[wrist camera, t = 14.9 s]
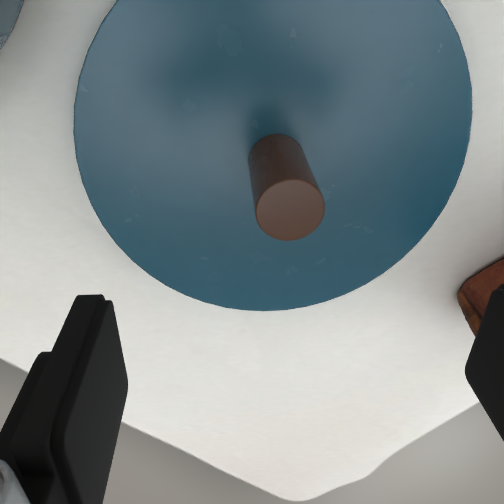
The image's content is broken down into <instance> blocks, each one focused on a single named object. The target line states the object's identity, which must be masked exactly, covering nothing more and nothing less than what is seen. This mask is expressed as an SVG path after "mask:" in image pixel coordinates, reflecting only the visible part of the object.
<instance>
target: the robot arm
mask: <svg viewBox="0 0 504 504" xmlns="http://www.w3.org/2000/svg"><path fill="white" fill-rule="evenodd" d="M465 375H466V379H467V381H468V383H469V384H470V386H471V388H472V389H473V391H474V393H475V394H476V396H477V398H478V399H479V401H480V403H481V404H482V406H483V407H484V409H485V411H486V413H487V414H488V416H489V417H490V419H491V421H492V423H493V424H494V426H495V428H496V429H497V431H498V432H499V434H500V436H501V437H502V439H503V441H504V283H503V284H501V285H500V286H498V288H497V289H495V290H493V291H492V293H491V295H490V298H489V301H488V304H487V306H486V309H485V312H484V315H483V318H482V321H481V323H480V326H479V329H478V332H477V335H476V337H475V340H474V343H473V346H472V349H471V352H470V354H469V357H468V360H467V363H466V366H465ZM127 392H128V378H127V373H126V368H125V363H124V358H123V353H122V347H121V342H120V337H119V332H118V327H117V322H116V317H115V312H114V306H113V302H112V301H111V300H105V298H104V296H103V295H102V294H100V295H78V296H77V297H76V298H75V300H74V302H73V305H72V307H71V309H70V311H69V314H68V316H67V318H66V320H65V322H64V325H63V327H62V329H61V331H60V333H59V336H58V338H57V340H56V342H55V345H54V347H53V349H52V351H51V352H41V353H40V354H39V355H38V356H37V358H36V359H35V361H34V363H33V365H32V367H31V370H30V372H29V374H28V376H27V378H26V380H25V382H24V384H23V386H22V389H21V390H20V392H19V394H18V397H17V399H16V401H15V403H14V405H13V407H12V409H11V411H10V413H9V415H8V417H7V419H6V421H5V423H4V425H3V428H2V430H1V432H0V504H102V503H103V499H104V494H105V490H106V486H107V481H108V476H109V472H110V468H111V464H112V459H113V455H114V450H115V446H116V441H117V437H118V432H119V428H120V423H121V419H122V415H123V410H124V406H125V402H126V397H127Z"/></svg>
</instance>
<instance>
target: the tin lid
mask: <svg viewBox="0 0 504 504" xmlns="http://www.w3.org/2000/svg"><path fill="white" fill-rule="evenodd" d="M471 121H472V88H471V82H470V76H469V70H468V64H467V59H466V56H465V53H464V50H463V47H462V44H461V41H460V38H459V35H458V33H457V31H456V29H455V27H454V25H453V23H452V21H451V19H450V17H449V15H448V13H447V11H446V9H445V8H444V6H443V5H442V4H441V2H440V1H439V0H117V1H116V3H115V4H114V6H113V7H112V9H111V10H110V11H109V13H108V14H107V16H106V17H105V19H104V20H103V22H102V23H101V25H100V27H99V29H98V31H97V33H96V35H95V37H94V39H93V41H92V43H91V45H90V47H89V49H88V52H87V55H86V58H85V61H84V64H83V67H82V70H81V73H80V76H79V81H78V87H77V93H76V98H75V104H74V141H75V150H76V159H77V163H78V167H79V171H80V175H81V179H82V182H83V185H84V187H85V190H86V192H87V195H88V197H89V200H90V203H91V205H92V207H93V209H94V210H95V212H96V214H97V216H98V218H99V219H100V221H101V223H102V225H103V226H104V228H105V229H106V230H107V232H108V233H109V234H110V236H111V237H112V239H113V240H114V241H115V243H116V244H117V245H118V246H119V247H120V248H121V249H122V250H123V251H124V252H125V253H126V254H127V256H128V257H129V258H130V259H131V260H132V261H134V262H135V263H136V264H137V265H138V266H140V267H141V268H142V269H143V270H144V271H146V272H147V273H148V274H149V275H151V276H152V277H154V278H155V279H157V280H159V281H160V282H162V283H163V284H165V285H166V286H168V287H170V288H172V289H174V290H176V291H178V292H180V293H182V294H184V295H187V296H189V297H192V298H195V299H197V300H200V301H203V302H206V303H210V304H214V305H218V306H222V307H226V308H233V309H240V310H252V311H275V310H288V309H294V308H300V307H307V306H310V305H314V304H318V303H322V302H325V301H328V300H331V299H334V298H336V297H339V296H342V295H344V294H347V293H349V292H351V291H353V290H355V289H357V288H359V287H361V286H363V285H365V284H367V283H368V282H370V281H371V280H373V279H375V278H376V277H378V276H379V275H381V274H383V273H384V272H385V271H387V270H388V269H389V268H391V267H392V266H393V265H394V264H396V263H397V262H398V261H399V260H401V259H402V258H403V257H404V256H405V255H406V254H407V253H408V252H409V251H410V250H411V249H412V248H413V247H414V246H415V245H416V244H417V243H418V242H419V241H420V240H421V239H422V237H423V236H424V235H425V234H426V233H427V231H428V230H429V229H430V228H431V227H432V225H433V224H434V222H435V221H436V219H437V218H438V216H439V215H440V213H441V212H442V210H443V209H444V207H445V205H446V203H447V201H448V199H449V197H450V196H451V194H452V192H453V190H454V188H455V186H456V183H457V180H458V178H459V175H460V172H461V170H462V167H463V164H464V161H465V156H466V152H467V148H468V144H469V140H470V131H471Z"/></svg>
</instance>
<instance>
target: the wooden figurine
mask: <svg viewBox="0 0 504 504" xmlns="http://www.w3.org/2000/svg"><path fill="white" fill-rule="evenodd" d="M503 283H504V259H502V260H500V261H498V262H496V263H495V264H493V265H492V266H490V267H488V268H486V269H485V270H483V271H481V272H480V273H478V274H476V275H475V276H473V277H471V278H470V279H468V280H467V281H466V282H465V283H464V284H463V286H462V288H461V290H460V291H459V293H458V303H459V305H460V307H461V309H462V312H463V314H464V316H465V319H466V321H467V322H468V324H469V326H470V328H471V330H472V332H473V334H474V335H475V337H476V335H477V332H478V329H479V326H480V323H481V321H482V318H483V315H484V312H485V309H486V306H487V304H488V301H489V298H490V295H491V293H492V291H493V290H495V289H497V288H498V286H500V285H501V284H503Z"/></svg>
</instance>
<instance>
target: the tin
mask: <svg viewBox="0 0 504 504" xmlns="http://www.w3.org/2000/svg"><path fill="white" fill-rule="evenodd" d="M23 2H24V0H0V49H1V48H2V46H3V45H4V43H5V41H6V40H7V38H8V36H9V35H10V33H11V31H12V30H13V27H14V25H15V22H16V20H17V17H18V15H19V13H20V10H21V8H22V5H23Z"/></svg>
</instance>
